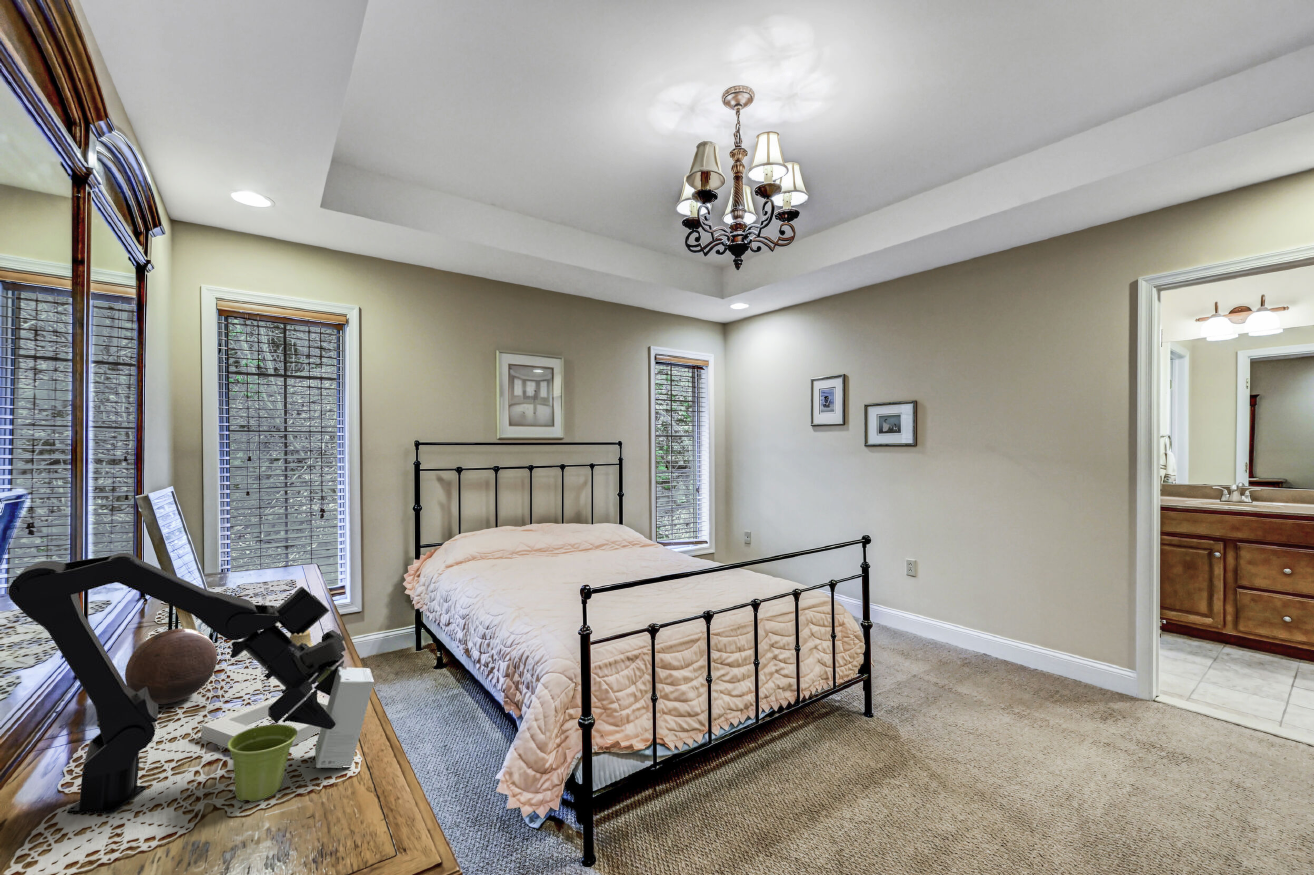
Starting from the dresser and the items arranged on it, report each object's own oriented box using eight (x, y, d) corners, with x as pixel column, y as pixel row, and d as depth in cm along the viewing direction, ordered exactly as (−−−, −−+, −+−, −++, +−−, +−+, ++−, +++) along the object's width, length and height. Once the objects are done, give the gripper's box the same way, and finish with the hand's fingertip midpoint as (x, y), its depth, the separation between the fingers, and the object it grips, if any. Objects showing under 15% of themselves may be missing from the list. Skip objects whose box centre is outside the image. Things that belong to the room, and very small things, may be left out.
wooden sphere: (229, 696, 126) (234, 627, 126) (145, 723, 112) (151, 646, 113) (190, 681, 132) (196, 616, 133) (107, 705, 118) (113, 632, 119)
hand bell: (283, 648, 156) (288, 589, 156) (318, 645, 159) (323, 588, 160) (278, 658, 148) (282, 597, 149) (315, 655, 152) (319, 595, 152)
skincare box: (351, 768, 101) (377, 682, 103) (312, 769, 98) (340, 680, 100) (348, 746, 108) (372, 666, 110) (312, 746, 105) (338, 664, 107)
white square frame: (260, 760, 102) (262, 746, 102) (200, 738, 108) (201, 724, 108) (351, 718, 119) (351, 706, 119) (294, 701, 125) (295, 689, 125)
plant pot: (281, 768, 100) (285, 718, 100) (302, 791, 94) (306, 737, 94) (215, 791, 92) (220, 736, 93) (233, 817, 86) (237, 758, 87)
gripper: (292, 640, 94) (361, 705, 96) (335, 607, 112) (392, 662, 114) (236, 690, 92) (307, 755, 94) (289, 648, 110) (347, 703, 112)
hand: (343, 714), depth 104 cm, fingers closed on skincare box, 9 cm apart
